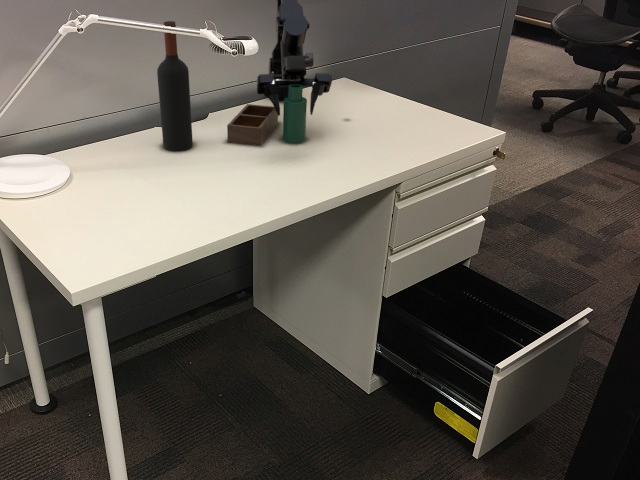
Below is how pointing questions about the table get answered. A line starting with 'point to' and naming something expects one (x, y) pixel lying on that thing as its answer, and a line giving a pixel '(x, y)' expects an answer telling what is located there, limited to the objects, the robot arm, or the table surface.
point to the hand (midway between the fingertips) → (295, 114)
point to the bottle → (294, 115)
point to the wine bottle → (174, 97)
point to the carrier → (252, 125)
